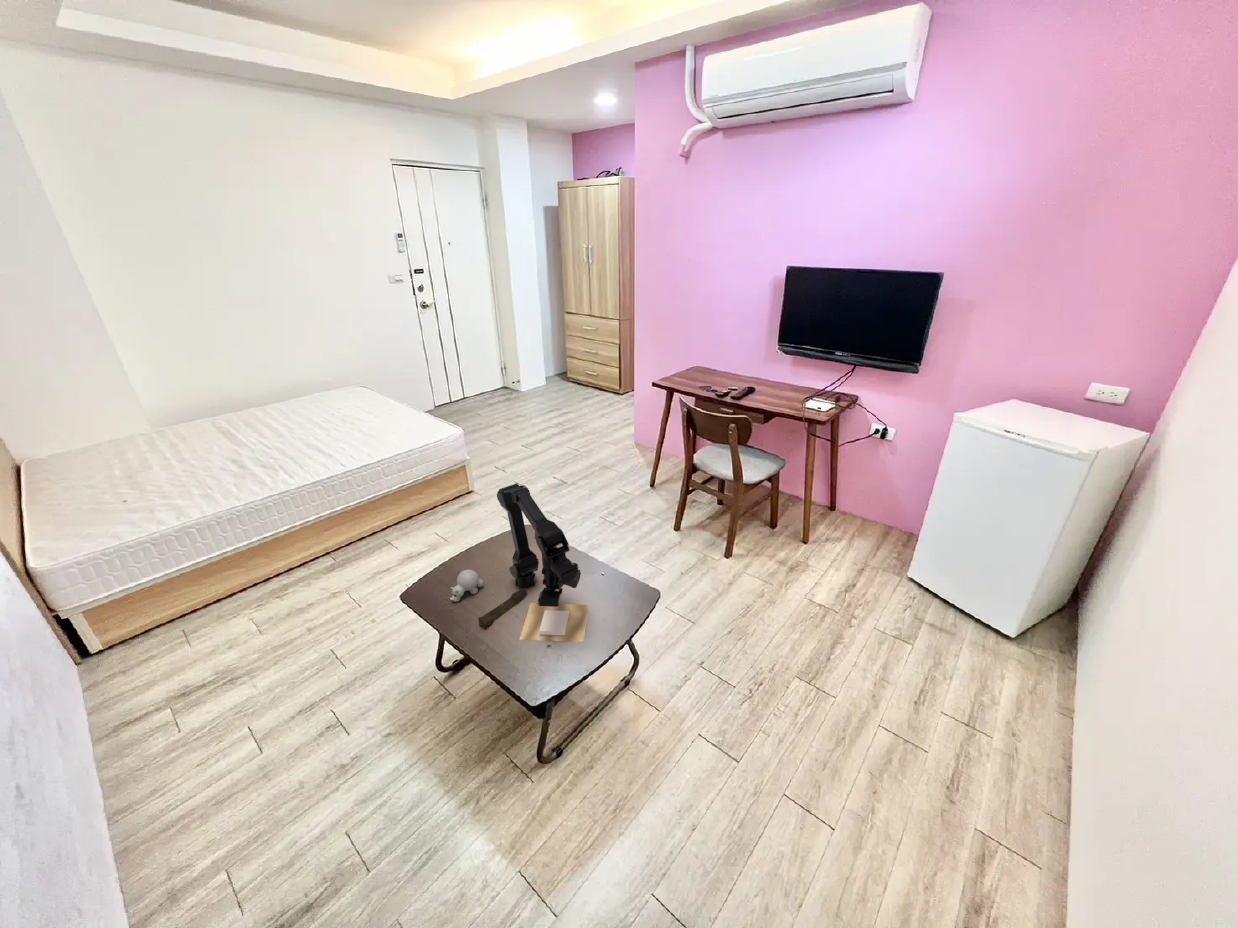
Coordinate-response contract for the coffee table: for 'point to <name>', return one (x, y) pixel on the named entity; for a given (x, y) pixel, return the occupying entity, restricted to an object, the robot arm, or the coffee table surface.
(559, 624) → the tile
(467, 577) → the chubby cartoon animal
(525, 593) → the hand tool
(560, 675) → the coffee table surface
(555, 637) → the board
